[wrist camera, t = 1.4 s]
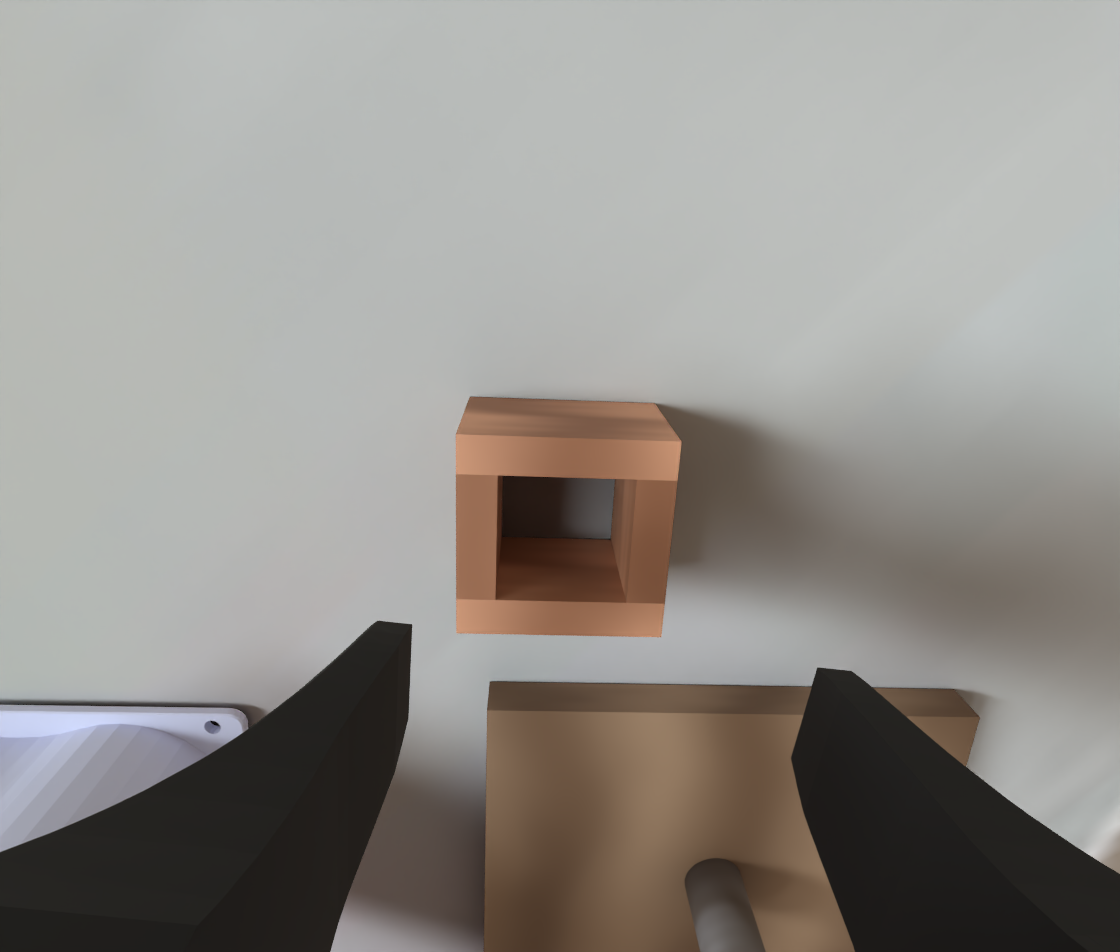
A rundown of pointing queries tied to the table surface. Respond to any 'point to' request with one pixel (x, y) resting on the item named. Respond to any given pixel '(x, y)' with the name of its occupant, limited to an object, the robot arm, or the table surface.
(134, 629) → the table surface
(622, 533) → the hollow wooden block
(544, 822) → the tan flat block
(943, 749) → the robot arm
